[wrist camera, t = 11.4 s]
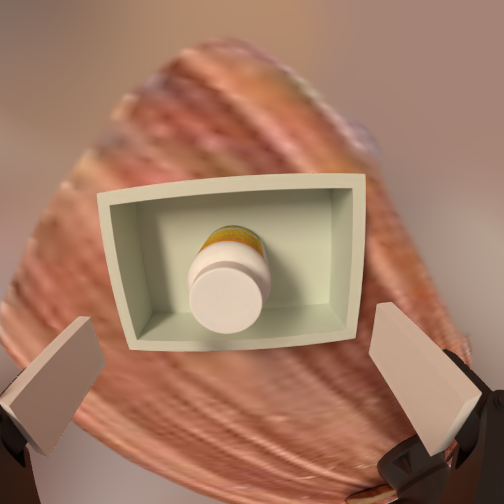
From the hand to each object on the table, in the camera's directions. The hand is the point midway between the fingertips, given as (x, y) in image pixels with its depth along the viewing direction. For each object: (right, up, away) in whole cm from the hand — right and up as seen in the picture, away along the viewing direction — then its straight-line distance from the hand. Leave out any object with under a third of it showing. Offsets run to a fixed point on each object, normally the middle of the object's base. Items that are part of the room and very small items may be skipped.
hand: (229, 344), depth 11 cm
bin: (-1, +4, +13) cm, 14 cm away
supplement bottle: (-1, +4, +13) cm, 13 cm away
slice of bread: (+36, -60, +33) cm, 78 cm away
